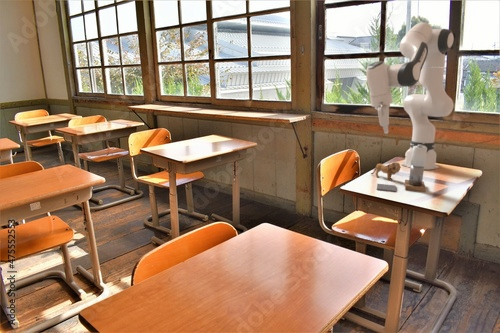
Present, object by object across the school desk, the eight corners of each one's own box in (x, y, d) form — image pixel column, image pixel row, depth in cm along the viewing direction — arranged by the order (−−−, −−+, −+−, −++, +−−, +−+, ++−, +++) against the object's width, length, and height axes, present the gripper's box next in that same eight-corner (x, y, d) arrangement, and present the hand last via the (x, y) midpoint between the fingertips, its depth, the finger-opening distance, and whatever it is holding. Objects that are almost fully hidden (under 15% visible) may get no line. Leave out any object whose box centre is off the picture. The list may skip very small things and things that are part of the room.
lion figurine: (401, 180, 184) (403, 162, 182) (395, 182, 180) (398, 164, 178) (372, 174, 194) (374, 156, 192) (367, 176, 190) (369, 158, 188)
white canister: (410, 162, 172) (412, 143, 169) (424, 164, 170) (426, 144, 168) (410, 165, 166) (413, 145, 164) (425, 167, 165) (428, 146, 162)
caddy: (404, 183, 178) (405, 175, 177) (423, 185, 176) (424, 177, 175) (405, 190, 169) (406, 181, 168) (425, 192, 167) (426, 183, 166)
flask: (408, 182, 174) (410, 163, 172) (421, 183, 172) (423, 164, 170) (408, 185, 169) (411, 165, 167) (422, 186, 167) (424, 167, 165)
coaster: (377, 184, 176) (377, 183, 176) (395, 186, 174) (395, 185, 173) (376, 189, 169) (376, 188, 169) (395, 192, 166) (396, 190, 166)
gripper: (389, 103, 156) (394, 135, 159) (388, 94, 174) (393, 123, 177) (373, 106, 158) (378, 138, 162) (374, 97, 176) (379, 125, 180)
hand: (386, 130), depth 170 cm, fingers open, 8 cm apart
